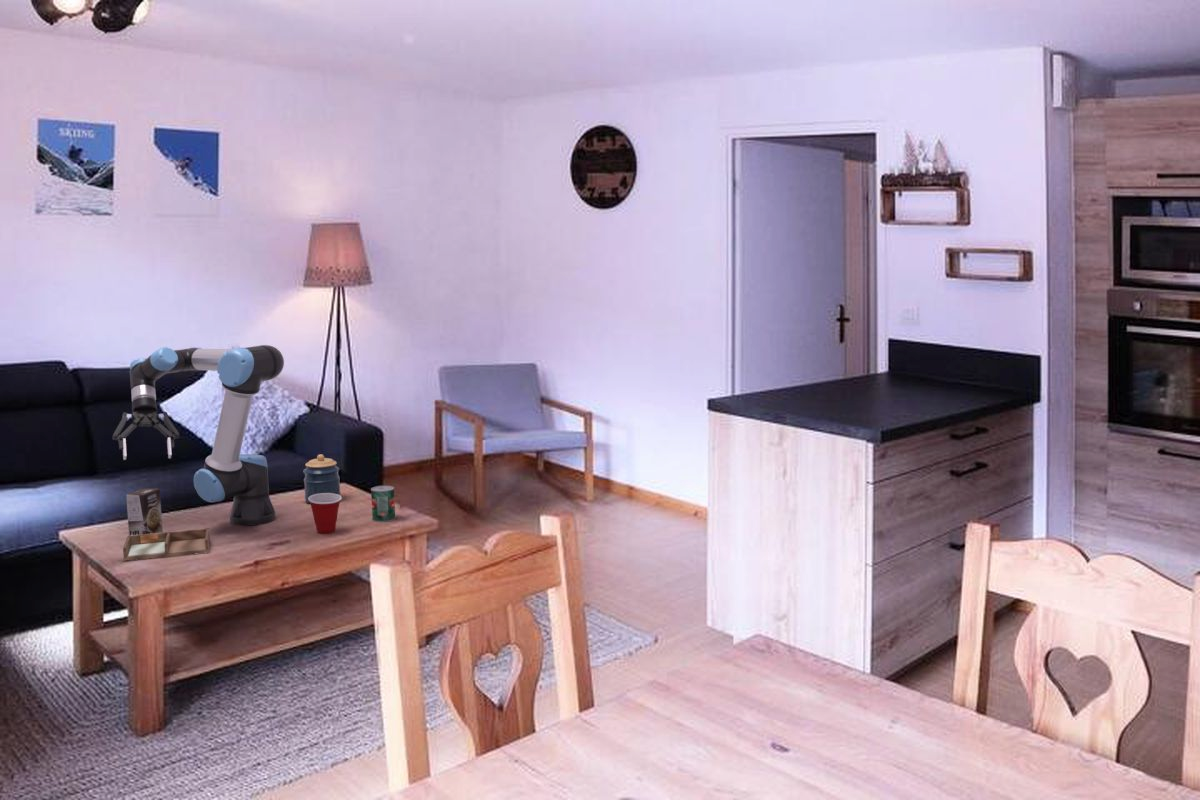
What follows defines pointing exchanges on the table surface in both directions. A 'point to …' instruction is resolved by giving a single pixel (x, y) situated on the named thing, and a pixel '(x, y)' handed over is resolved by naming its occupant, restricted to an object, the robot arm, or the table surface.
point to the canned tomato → (383, 503)
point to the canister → (321, 477)
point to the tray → (166, 544)
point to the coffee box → (144, 512)
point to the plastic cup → (325, 511)
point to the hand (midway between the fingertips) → (147, 457)
